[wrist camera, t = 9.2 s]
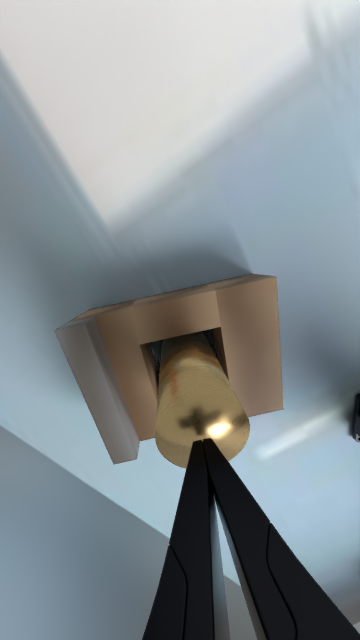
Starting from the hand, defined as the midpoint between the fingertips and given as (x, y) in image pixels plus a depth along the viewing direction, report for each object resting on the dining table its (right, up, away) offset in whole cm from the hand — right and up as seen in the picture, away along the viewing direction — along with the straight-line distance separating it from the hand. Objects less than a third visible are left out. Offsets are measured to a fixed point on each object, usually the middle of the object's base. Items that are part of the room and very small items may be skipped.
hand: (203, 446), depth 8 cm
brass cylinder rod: (-1, +3, +9) cm, 10 cm away
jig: (-1, +3, +9) cm, 9 cm away
